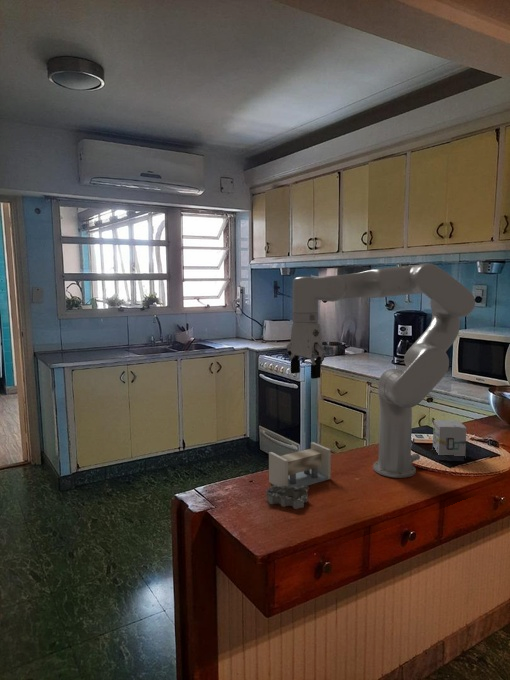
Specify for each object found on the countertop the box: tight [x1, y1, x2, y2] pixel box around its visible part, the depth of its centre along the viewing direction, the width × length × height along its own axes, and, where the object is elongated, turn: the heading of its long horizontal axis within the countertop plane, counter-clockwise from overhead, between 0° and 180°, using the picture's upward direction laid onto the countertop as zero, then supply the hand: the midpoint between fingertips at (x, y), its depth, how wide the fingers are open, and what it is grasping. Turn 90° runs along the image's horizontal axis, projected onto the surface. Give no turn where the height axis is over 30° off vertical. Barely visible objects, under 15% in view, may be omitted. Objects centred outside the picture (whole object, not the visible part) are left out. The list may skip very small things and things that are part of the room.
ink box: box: [432, 419, 467, 457], centre depth 156 cm, size 8×8×12 cm
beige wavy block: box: [280, 448, 321, 475], centre depth 138 cm, size 12×5×4 cm, turn 122°
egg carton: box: [265, 484, 310, 510], centre depth 125 cm, size 11×8×4 cm
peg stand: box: [268, 441, 332, 487], centre depth 138 cm, size 17×8×9 cm, turn 122°
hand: (305, 375), depth 141 cm, fingers open, 9 cm apart
